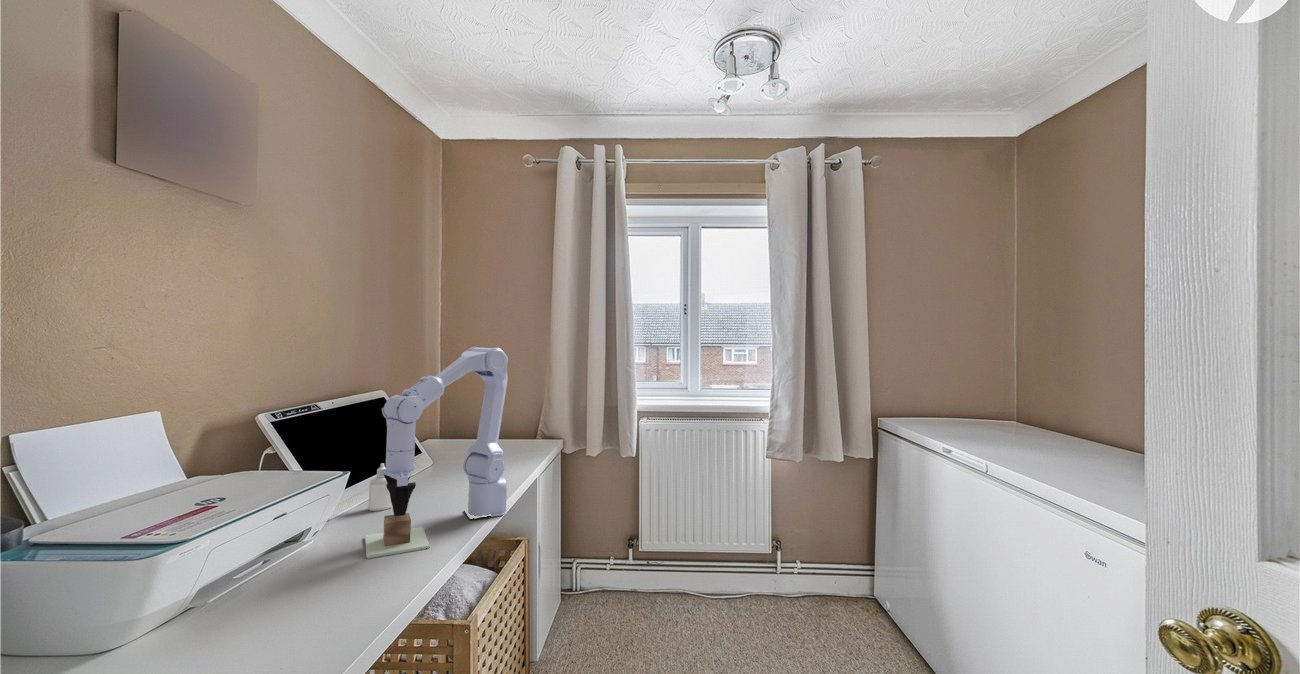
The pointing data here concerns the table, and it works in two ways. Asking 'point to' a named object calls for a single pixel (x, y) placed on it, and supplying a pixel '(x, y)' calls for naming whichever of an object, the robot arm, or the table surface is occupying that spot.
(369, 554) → the sage board
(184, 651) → the table surface
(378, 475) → the eye dropper bottle
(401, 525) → the walnut cube
